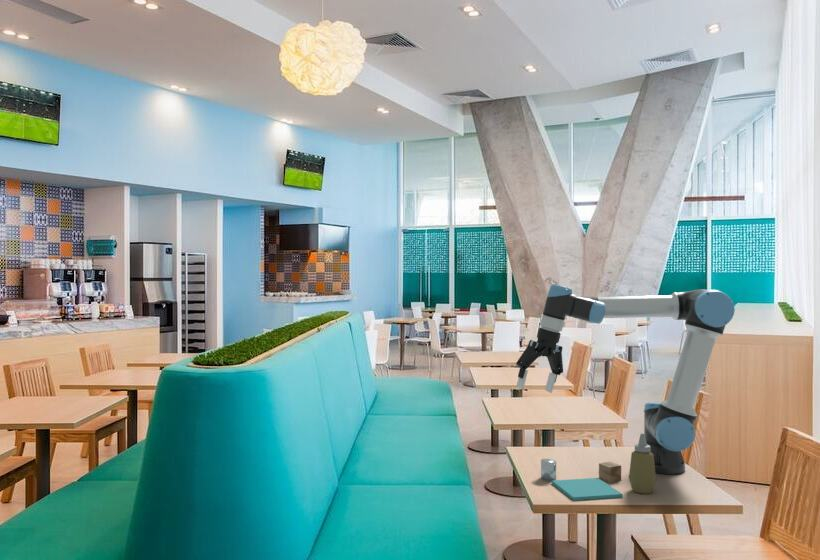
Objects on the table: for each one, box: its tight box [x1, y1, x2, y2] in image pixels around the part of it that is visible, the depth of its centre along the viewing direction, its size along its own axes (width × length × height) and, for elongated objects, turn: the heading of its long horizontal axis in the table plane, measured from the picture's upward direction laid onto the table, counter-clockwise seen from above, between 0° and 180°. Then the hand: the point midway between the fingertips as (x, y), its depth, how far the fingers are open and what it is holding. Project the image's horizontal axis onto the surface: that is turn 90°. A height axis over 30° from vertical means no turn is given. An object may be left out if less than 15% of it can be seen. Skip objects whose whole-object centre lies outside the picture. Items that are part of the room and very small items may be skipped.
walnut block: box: [598, 461, 622, 483], centre depth 212 cm, size 5×5×5 cm
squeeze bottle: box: [628, 433, 657, 494], centre depth 200 cm, size 8×8×18 cm
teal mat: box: [551, 477, 623, 501], centre depth 201 cm, size 16×16×1 cm
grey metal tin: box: [540, 458, 557, 482], centre depth 213 cm, size 5×5×6 cm
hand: (534, 389), depth 218 cm, fingers open, 13 cm apart
